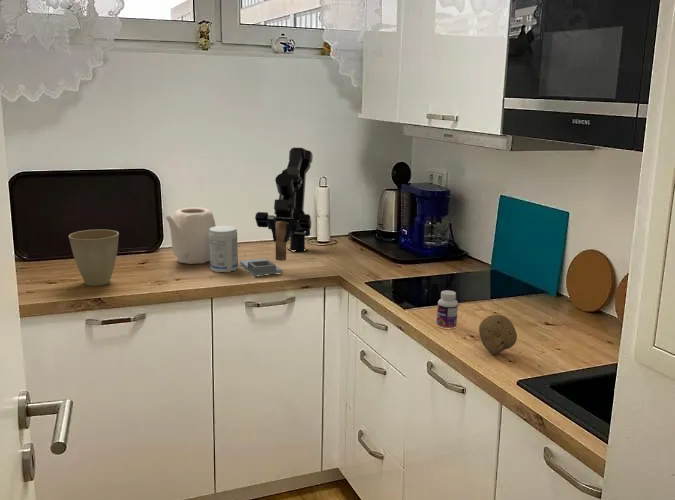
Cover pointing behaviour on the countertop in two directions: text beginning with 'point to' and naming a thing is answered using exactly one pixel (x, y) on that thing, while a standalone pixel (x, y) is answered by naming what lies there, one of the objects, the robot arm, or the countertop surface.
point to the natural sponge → (497, 333)
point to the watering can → (191, 234)
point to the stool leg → (280, 240)
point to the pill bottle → (447, 310)
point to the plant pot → (95, 254)
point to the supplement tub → (223, 248)
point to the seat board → (260, 267)
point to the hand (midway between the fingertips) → (280, 241)
